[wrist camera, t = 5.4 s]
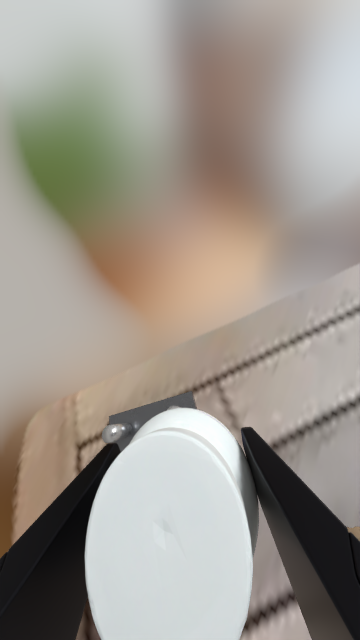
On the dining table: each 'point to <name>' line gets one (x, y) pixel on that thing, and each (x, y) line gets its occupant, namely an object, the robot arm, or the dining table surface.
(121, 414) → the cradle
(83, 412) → the dining table surface
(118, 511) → the pill bottle
